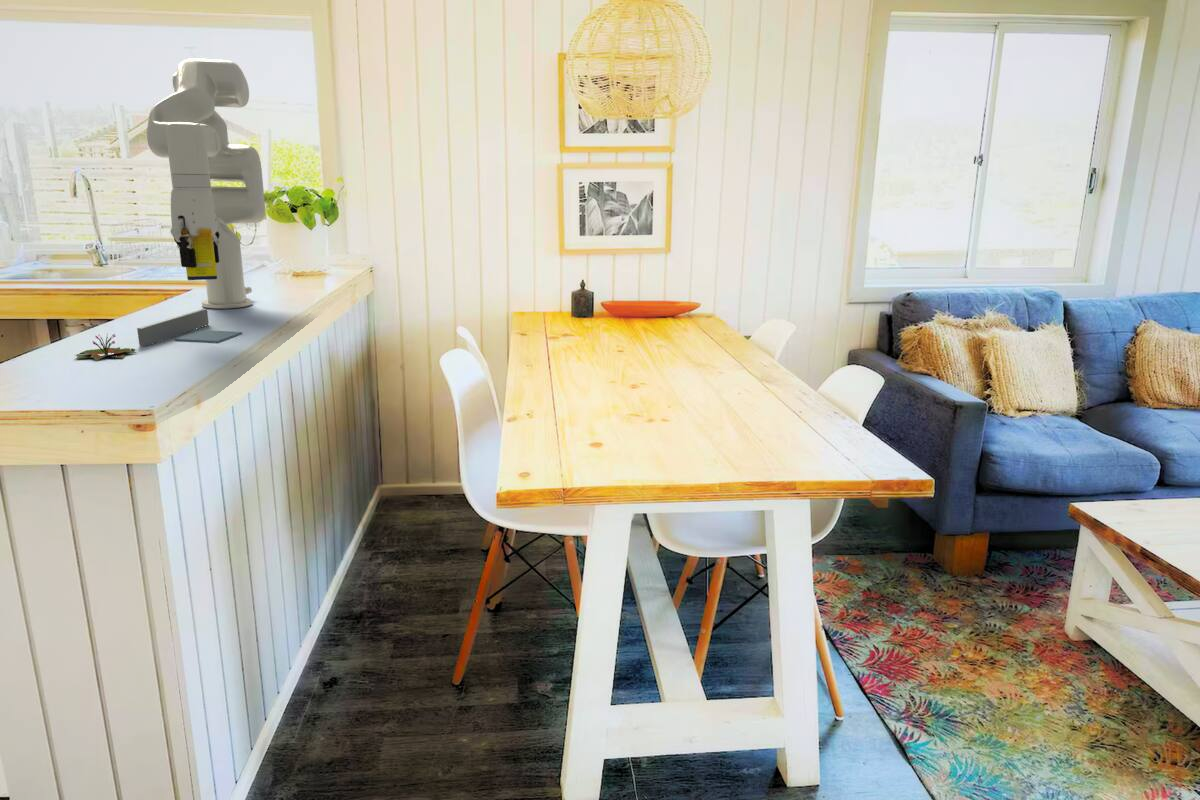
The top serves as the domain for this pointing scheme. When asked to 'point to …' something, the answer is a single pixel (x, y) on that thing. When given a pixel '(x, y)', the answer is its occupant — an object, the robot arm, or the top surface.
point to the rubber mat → (208, 336)
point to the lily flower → (104, 350)
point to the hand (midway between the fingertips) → (200, 264)
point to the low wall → (172, 327)
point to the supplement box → (203, 257)
